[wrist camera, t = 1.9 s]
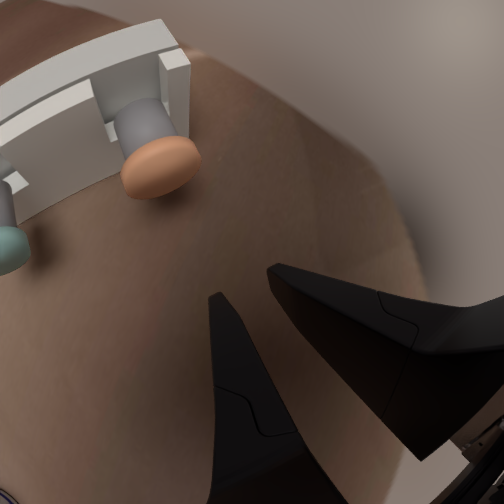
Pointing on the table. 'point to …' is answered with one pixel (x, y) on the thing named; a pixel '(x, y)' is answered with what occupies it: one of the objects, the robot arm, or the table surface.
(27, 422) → the table surface
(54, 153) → the button panel
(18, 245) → the teal button
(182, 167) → the terracotta button
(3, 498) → the energy drink
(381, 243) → the table surface
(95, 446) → the table surface
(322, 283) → the robot arm
